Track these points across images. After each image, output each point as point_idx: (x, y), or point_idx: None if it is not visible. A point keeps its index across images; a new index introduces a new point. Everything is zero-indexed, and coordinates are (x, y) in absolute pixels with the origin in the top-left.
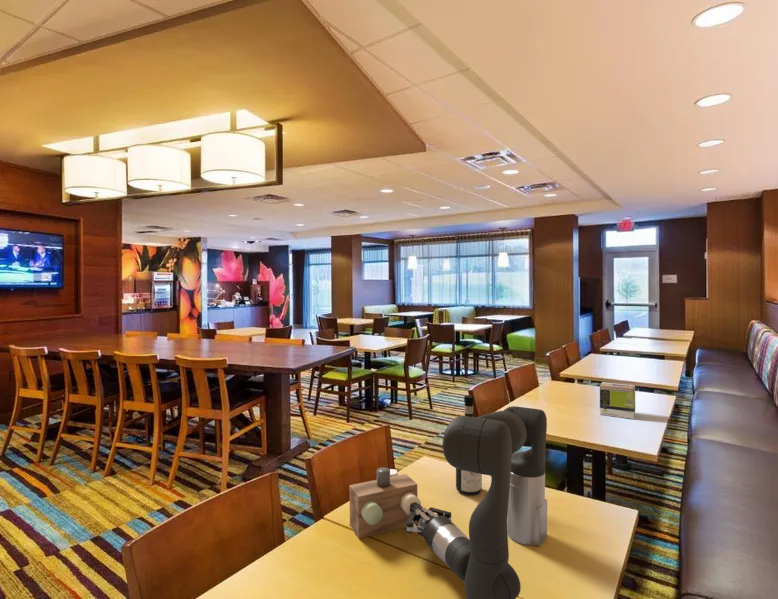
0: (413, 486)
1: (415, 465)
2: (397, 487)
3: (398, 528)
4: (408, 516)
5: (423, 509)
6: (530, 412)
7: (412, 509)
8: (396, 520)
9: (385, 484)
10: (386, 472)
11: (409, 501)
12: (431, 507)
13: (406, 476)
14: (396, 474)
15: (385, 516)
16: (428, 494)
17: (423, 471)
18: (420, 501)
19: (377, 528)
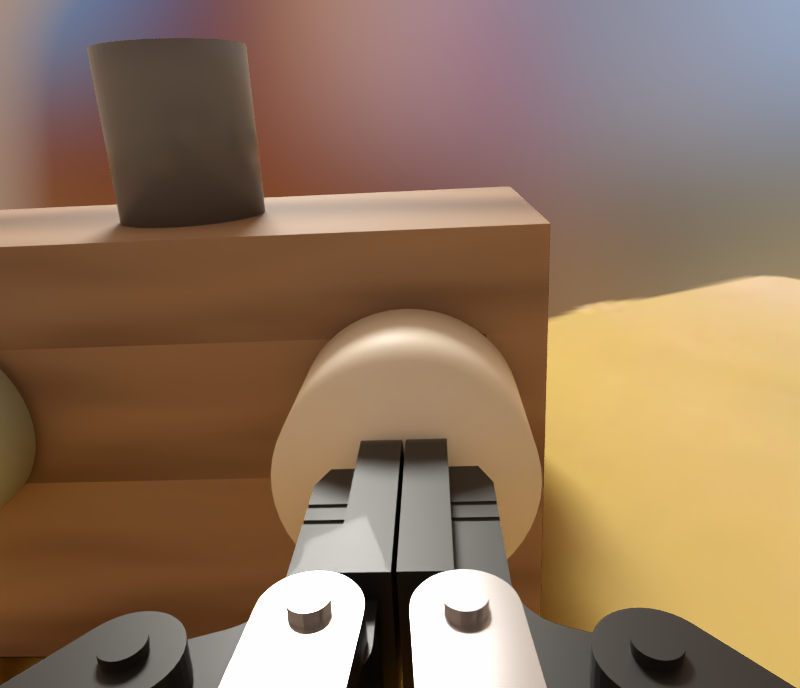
0: (491, 247)
1: (699, 289)
2: (275, 232)
3: None
4: None
5: (448, 619)
6: None
7: (297, 543)
8: None
9: (155, 191)
10: (148, 39)
11: (342, 410)
12: (674, 616)
13: (494, 193)
14: None
15: (149, 522)
16: (738, 415)
17: (736, 311)
18: (532, 440)
19: (81, 612)
